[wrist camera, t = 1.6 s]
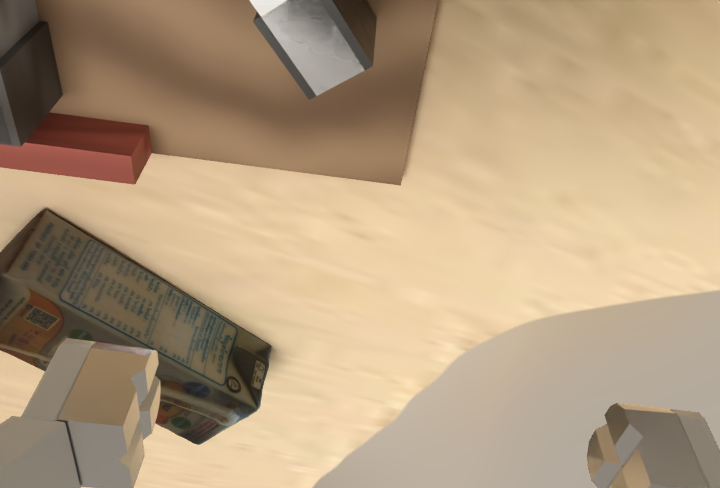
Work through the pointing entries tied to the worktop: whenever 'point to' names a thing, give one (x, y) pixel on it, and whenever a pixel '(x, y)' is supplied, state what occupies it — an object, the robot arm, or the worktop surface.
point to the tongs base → (196, 91)
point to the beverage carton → (127, 325)
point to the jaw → (319, 39)
